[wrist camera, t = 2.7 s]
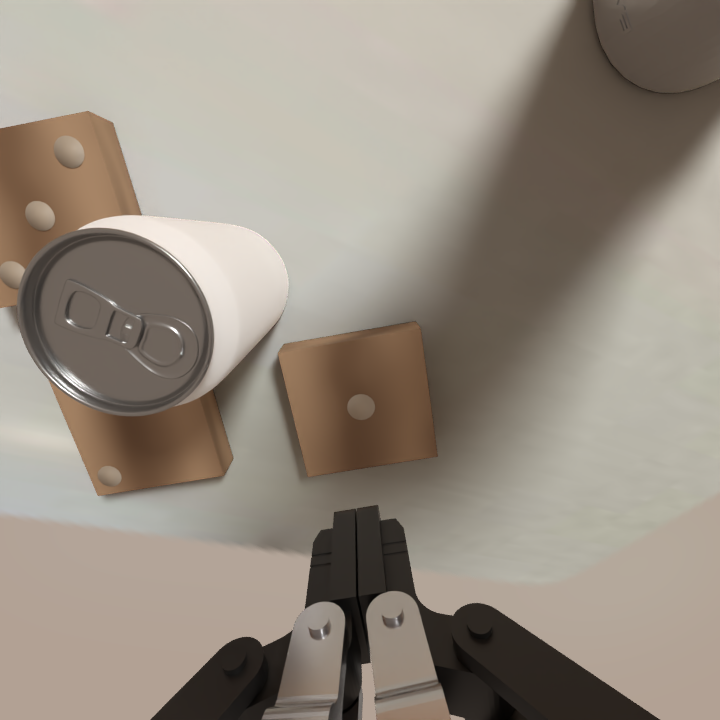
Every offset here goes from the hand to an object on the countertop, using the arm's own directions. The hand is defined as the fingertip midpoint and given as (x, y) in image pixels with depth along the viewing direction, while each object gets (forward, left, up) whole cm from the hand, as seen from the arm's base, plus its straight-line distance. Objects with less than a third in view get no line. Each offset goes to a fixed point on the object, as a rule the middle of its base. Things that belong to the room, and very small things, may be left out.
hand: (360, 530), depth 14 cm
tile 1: (0, 0, -12) cm, 12 cm away
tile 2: (+13, -1, -12) cm, 18 cm away
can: (+6, -8, -12) cm, 16 cm away
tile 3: (+14, -13, -12) cm, 23 cm away
